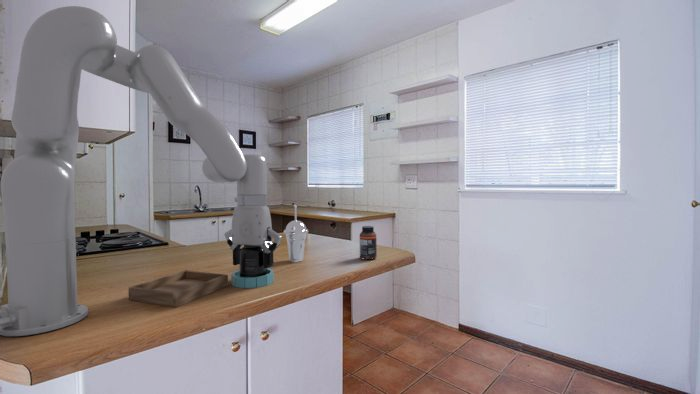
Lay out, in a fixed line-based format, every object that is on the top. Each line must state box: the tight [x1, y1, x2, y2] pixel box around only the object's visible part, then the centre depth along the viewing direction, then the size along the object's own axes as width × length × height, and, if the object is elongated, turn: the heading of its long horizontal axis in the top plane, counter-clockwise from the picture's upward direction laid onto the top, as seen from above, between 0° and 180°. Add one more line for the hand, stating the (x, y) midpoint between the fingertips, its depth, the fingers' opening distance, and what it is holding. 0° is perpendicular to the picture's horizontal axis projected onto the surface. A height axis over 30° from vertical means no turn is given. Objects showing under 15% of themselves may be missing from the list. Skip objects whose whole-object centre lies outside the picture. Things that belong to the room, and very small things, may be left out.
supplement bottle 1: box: [238, 245, 266, 277], centre depth 88 cm, size 7×7×12 cm
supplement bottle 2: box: [359, 225, 378, 259], centre depth 116 cm, size 6×6×11 cm
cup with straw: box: [282, 202, 309, 263], centre depth 111 cm, size 8×9×20 cm
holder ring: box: [230, 267, 275, 289], centre depth 88 cm, size 11×11×2 cm
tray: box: [127, 269, 229, 308], centre depth 79 cm, size 16×14×3 cm
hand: (252, 265), depth 88 cm, fingers open, 9 cm apart
